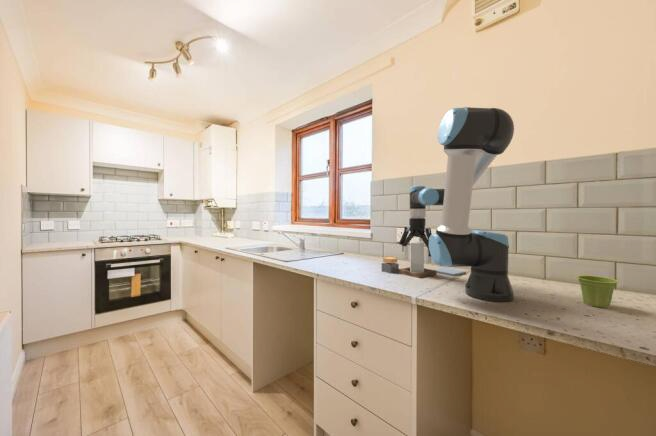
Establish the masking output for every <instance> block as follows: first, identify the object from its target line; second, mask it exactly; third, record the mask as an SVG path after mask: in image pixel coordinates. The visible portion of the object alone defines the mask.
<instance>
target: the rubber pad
mask: <svg viewBox="0 0 656 436" xmlns="http://www.w3.org/2000/svg"><path fill="white" fill-rule="evenodd" d="M435 270H436V274H441V275H444V276H445V275H446V276H450V277H456V275H457V276H461V275H465V274H467V271H465V270H460V269H456V268H451V267H443V268H437V269H435ZM464 273H465V274H464ZM460 274H461V275H460Z"/></svg>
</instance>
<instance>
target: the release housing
mask: <svg viewBox="0 0 656 436" xmlns="http://www.w3.org/2000/svg"><path fill="white" fill-rule="evenodd" d="M399 265H400V263H398V262H396V263H392V264H388V263H386V262H382V263H381V272H385V273H389V274H392V273H398V269H400V268H399Z"/></svg>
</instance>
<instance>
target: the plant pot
mask: <svg viewBox="0 0 656 436" xmlns="http://www.w3.org/2000/svg"><path fill="white" fill-rule="evenodd" d="M576 278H577V279H578V283H579V285H580V289H581V294H582V301H583V304H585V305H586V304H587V306H590V307H593V306H595V307H594V308H596V307H598V308H599V307H600V308H603V309H606V308H607V309H608V307H609V308H610V307H611V303H612V298H613V295H614V294H613V293H614V288H615V287H616V285H617V283H618V280H616V279H613V278H609V277H604V276H597V275H577V276H576Z"/></svg>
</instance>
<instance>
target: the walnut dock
mask: <svg viewBox="0 0 656 436" xmlns="http://www.w3.org/2000/svg"><path fill="white" fill-rule="evenodd" d="M397 273H398V274H402V275H405V276H409V277H414V278H419V279H420V278H424V277H430V276H433V275H437V273H436V269H430V268H426V267H424V272H422V273H416V272H411V271H410V266H409V267H404V268H399V269H398V272H397Z"/></svg>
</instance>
